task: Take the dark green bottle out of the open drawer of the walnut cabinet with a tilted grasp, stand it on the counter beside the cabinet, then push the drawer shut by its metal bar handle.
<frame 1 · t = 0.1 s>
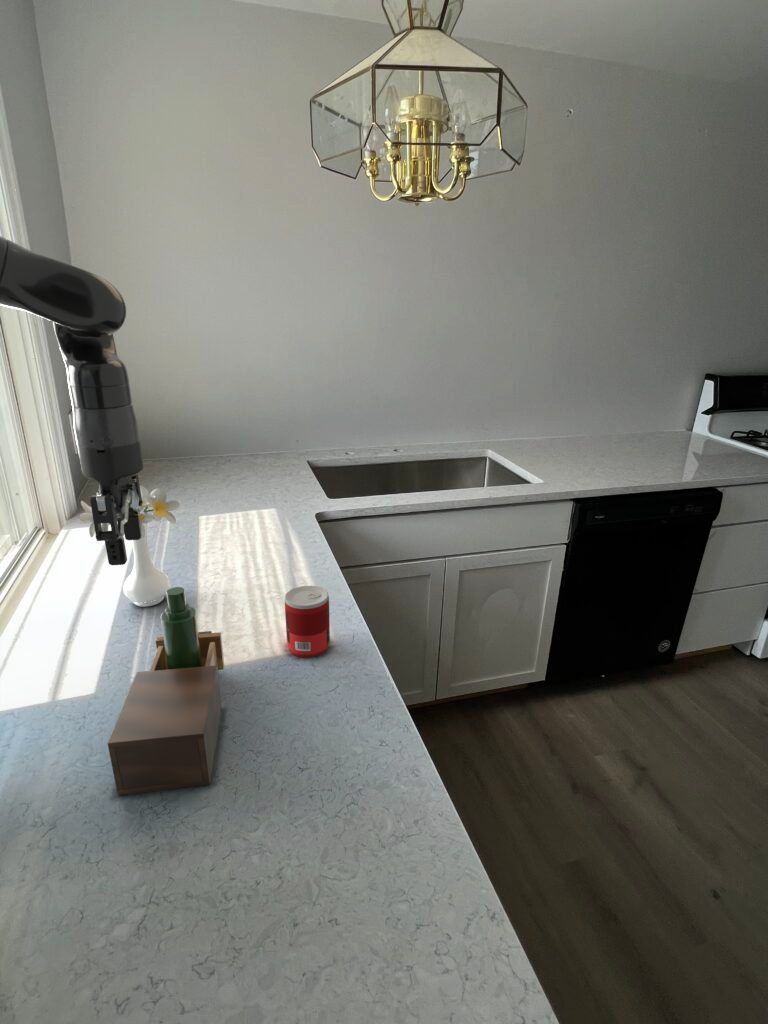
hand: (126, 551, 79), 27 cm above the worktop, tool pointing down, fingers open, 8 cm apart
canned food: (308, 647, 104), on the worktop
drawer: (186, 668, 91), point 4 cm above the worktop, slide at 9.5 cm, touching bottle
cabinet: (174, 749, 80), on the worktop
bottle: (187, 683, 91), point 2 cm above the worktop, touching drawer
flower vase: (145, 602, 120), on the worktop
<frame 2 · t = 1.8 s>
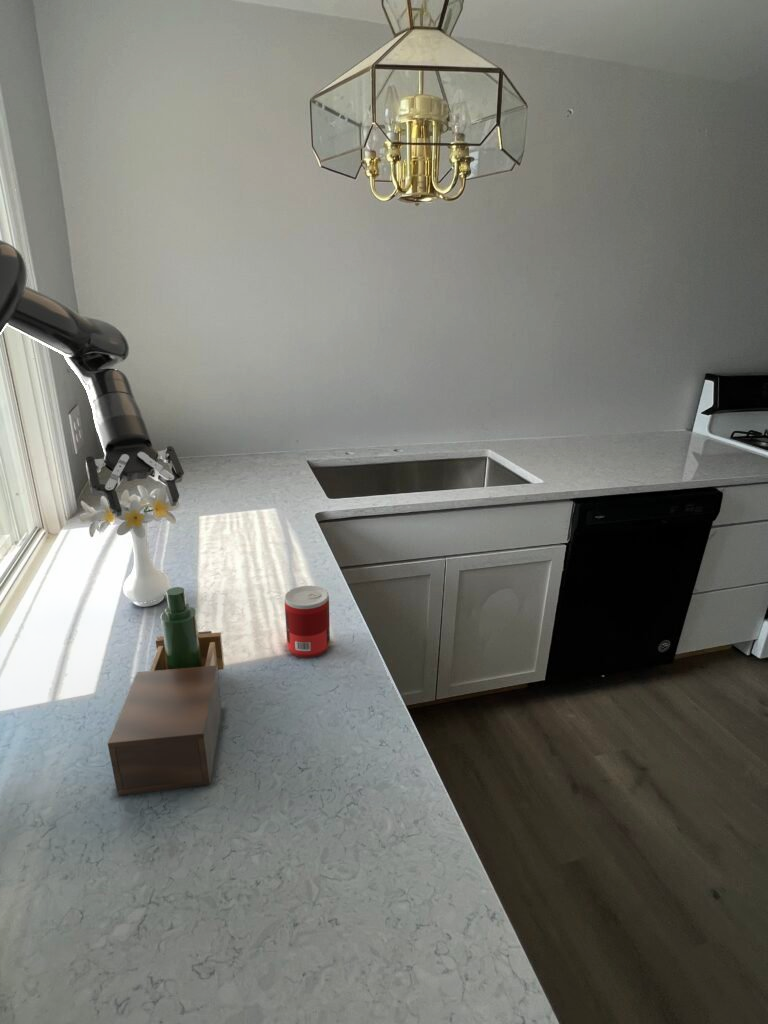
hand: (147, 508, 90), 29 cm above the worktop, tool tilted 45°, fingers open, 8 cm apart
nothing on the worktop moved.
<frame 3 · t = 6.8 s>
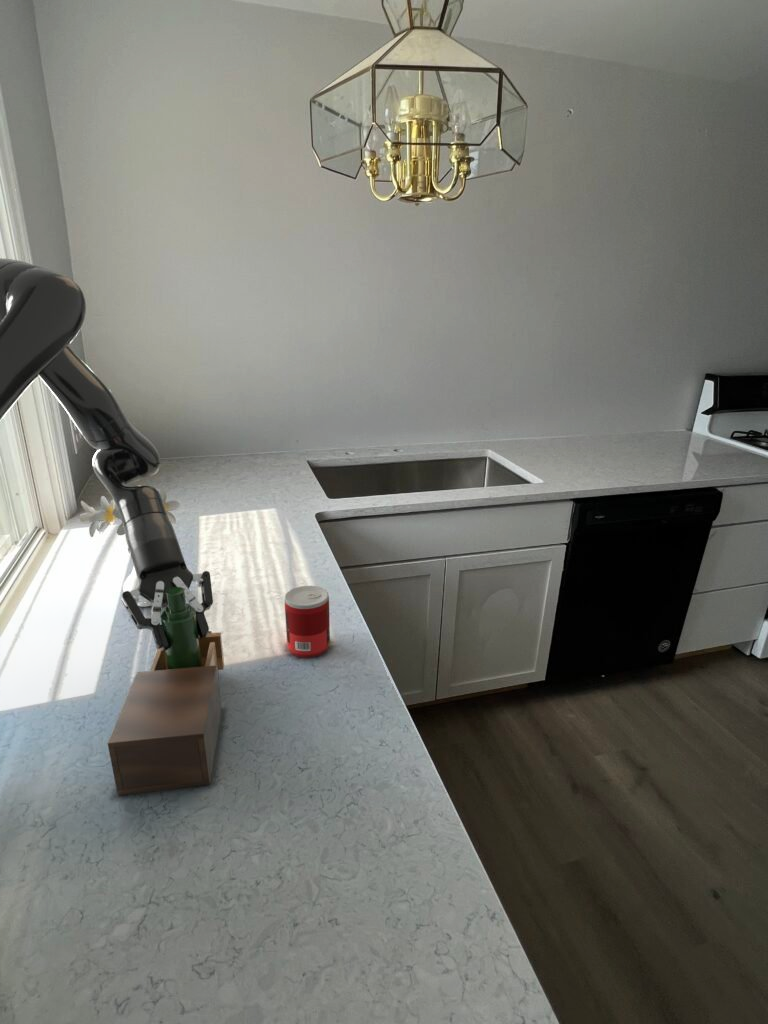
hand: (185, 642, 87), 11 cm above the worktop, tool tilted 45°, fingers closed on bottle, 5 cm apart
bottle: (187, 683, 91), point 2 cm above the worktop, touching drawer, gripper
everything else where it was.
when the fingers open (9 cm above the worktop, at t = 17.5 s): bottle stays where it is, on the worktop.
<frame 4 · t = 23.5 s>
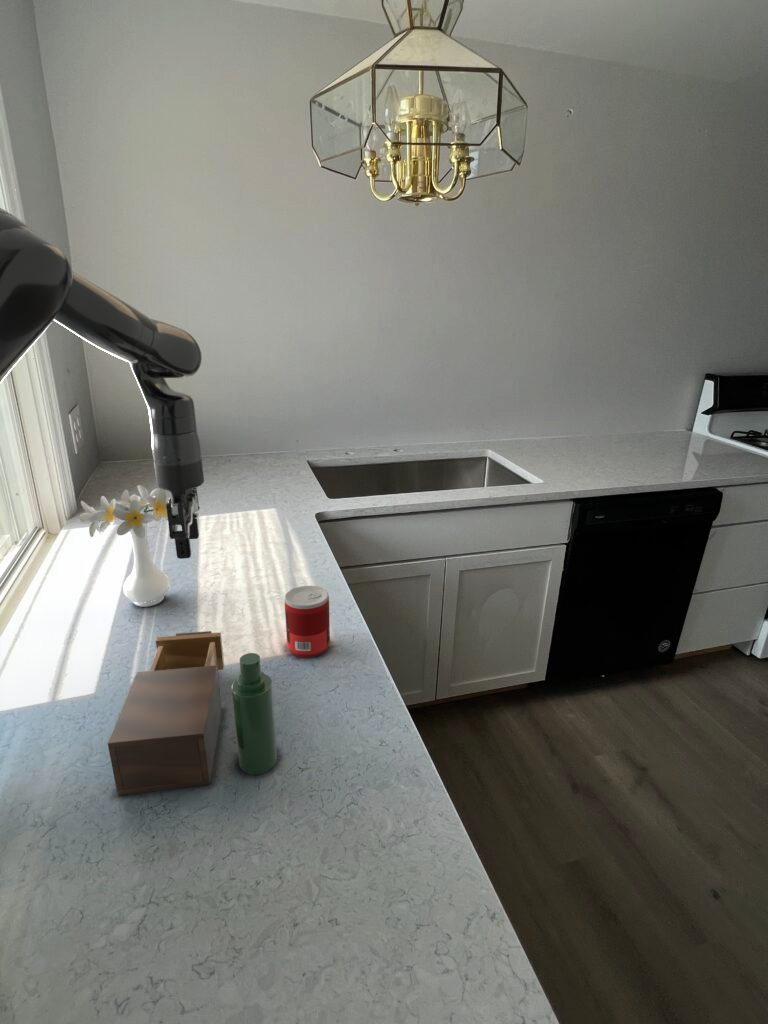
hand: (188, 547, 98), 20 cm above the worktop, tool pointing down, fingers open, 8 cm apart
drawer: (186, 668, 91), point 4 cm above the worktop, slide at 9.5 cm
bottle: (258, 760, 78), on the worktop
everything else where it was.
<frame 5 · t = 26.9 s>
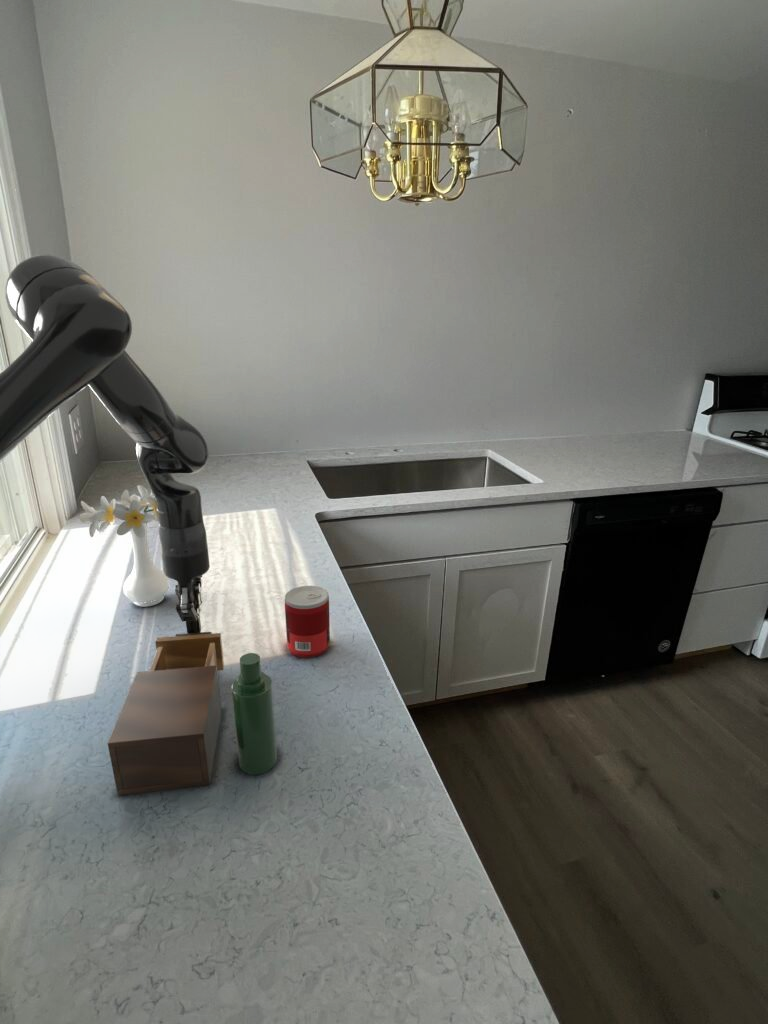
hand: (194, 634, 100), 4 cm above the worktop, tool pointing down, fingers closed
drawer: (186, 668, 91), point 4 cm above the worktop, slide at 9.3 cm, touching gripper
everything else where it was.
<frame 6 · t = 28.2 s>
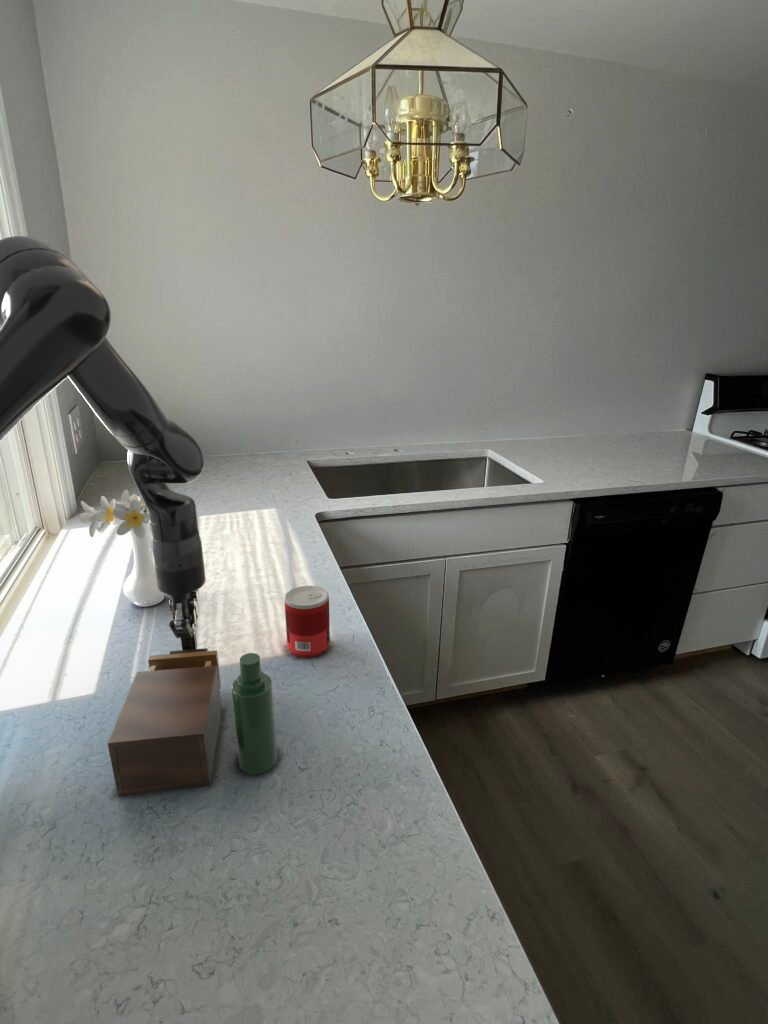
hand: (190, 650, 95), 4 cm above the worktop, tool pointing down, fingers closed
drawer: (181, 689, 86), point 4 cm above the worktop, slide at 4.2 cm, touching gripper
everything else where it was.
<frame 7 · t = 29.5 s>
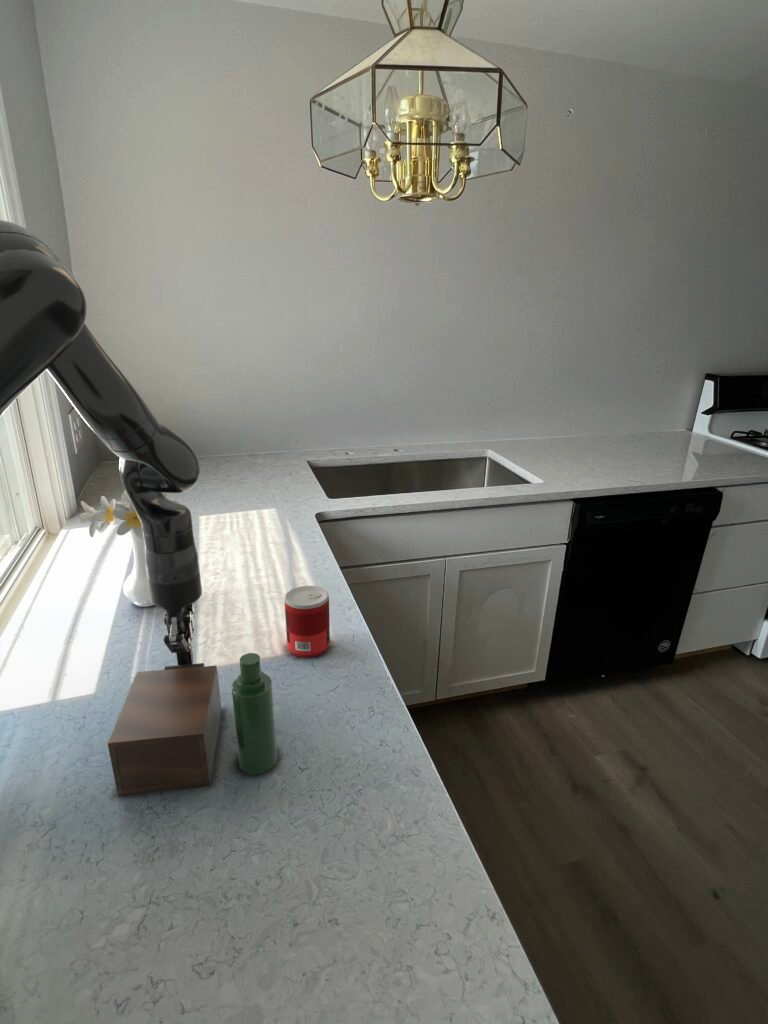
hand: (186, 664, 91), 4 cm above the worktop, tool pointing down, fingers closed
drawer: (176, 707, 82), point 4 cm above the worktop, slide at 0.0 cm, touching cabinet, gripper
everything else where it was.
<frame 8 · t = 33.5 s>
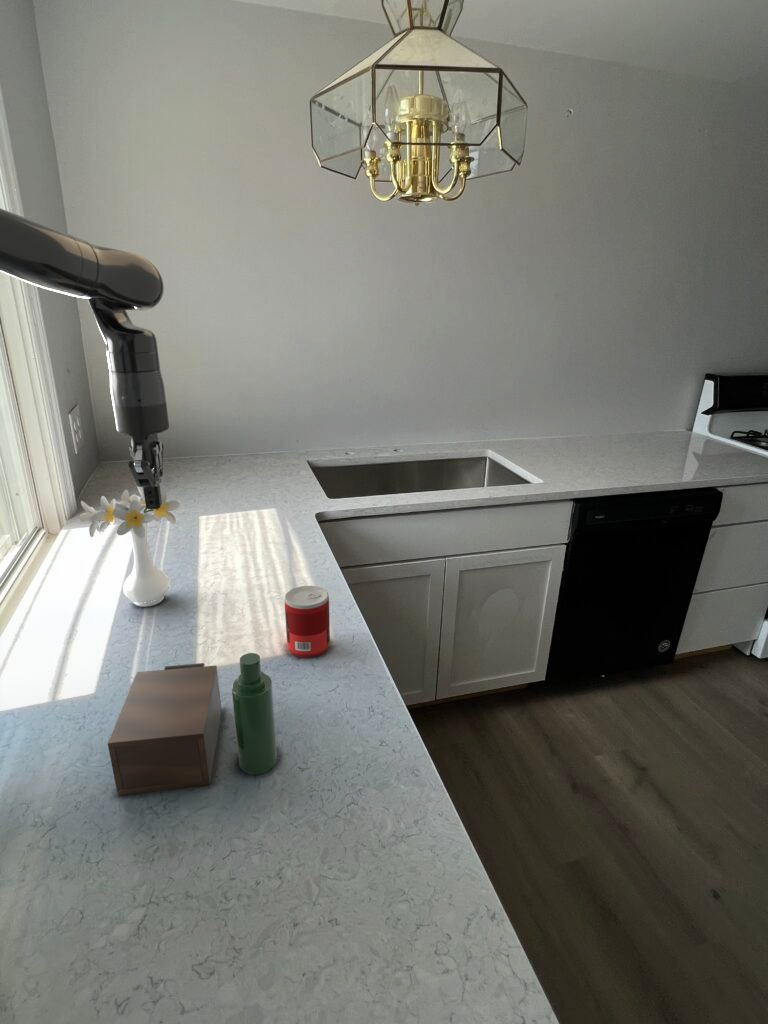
hand: (154, 507, 91), 29 cm above the worktop, tool pointing down, fingers closed
drawer: (176, 707, 82), point 4 cm above the worktop, slide at 0.0 cm
everything else where it was.
at the end: bottle inside the target area (0.1 cm from its centre), on the worktop; bottle tilted 0°; drawer slide at 0.0 cm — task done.
